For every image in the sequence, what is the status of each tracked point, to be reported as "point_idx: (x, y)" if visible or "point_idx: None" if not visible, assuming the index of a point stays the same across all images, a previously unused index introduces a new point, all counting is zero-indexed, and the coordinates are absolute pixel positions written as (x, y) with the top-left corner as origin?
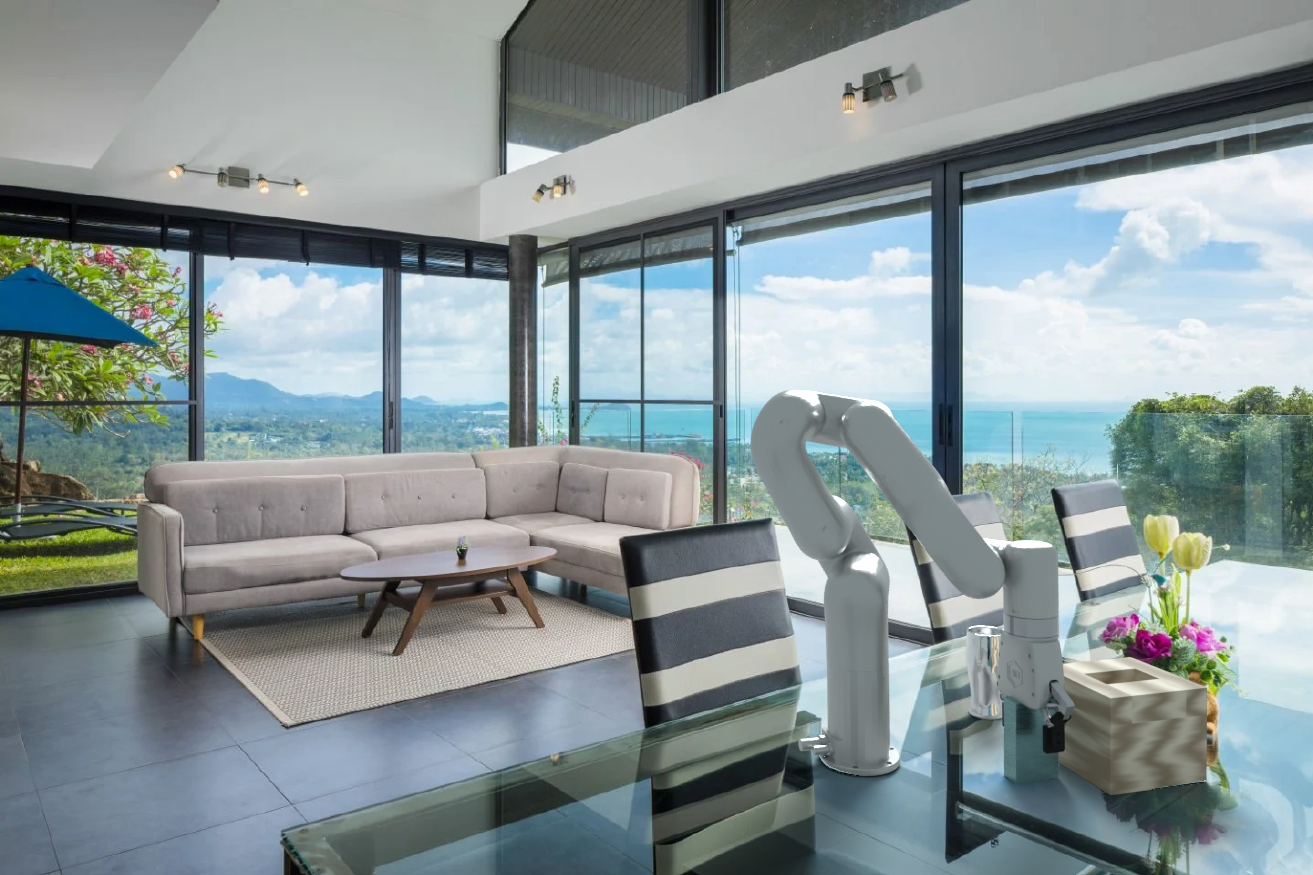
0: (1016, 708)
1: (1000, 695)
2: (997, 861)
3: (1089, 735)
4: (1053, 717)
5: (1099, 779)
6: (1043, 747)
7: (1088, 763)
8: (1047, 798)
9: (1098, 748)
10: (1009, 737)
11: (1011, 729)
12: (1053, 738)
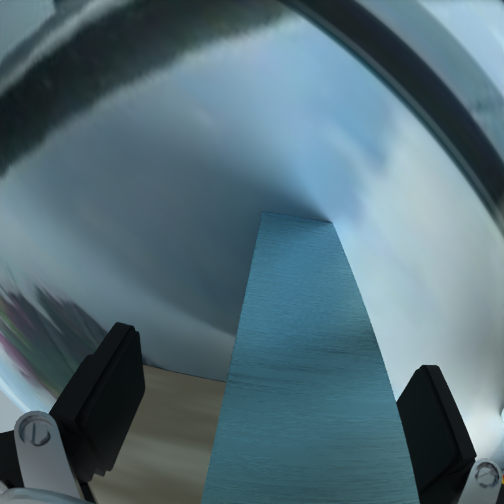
0: (207, 488)
1: (497, 474)
2: None
3: (169, 477)
4: (16, 461)
5: (160, 385)
6: (119, 335)
7: (192, 412)
8: (147, 226)
9: (137, 447)
10: (309, 299)
11: (292, 333)
12: (71, 383)
